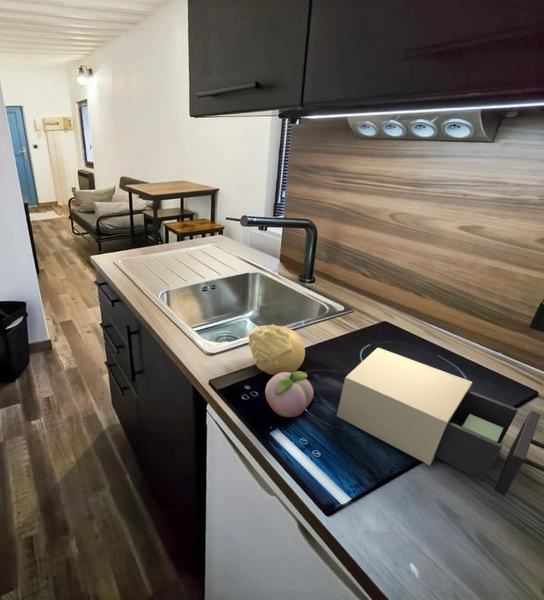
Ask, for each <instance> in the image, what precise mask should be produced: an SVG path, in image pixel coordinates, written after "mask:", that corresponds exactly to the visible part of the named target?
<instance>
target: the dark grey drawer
mask: <svg viewBox="0 0 544 600" xmlns="http://www.w3.org/2000/svg"><path fill="white" fill-rule="evenodd" d="M518 412H519V408H516V407H514V406H511V405H509V404H506V403H504V402H501V401H498V400H496V399H493V398H491V397H487V396H485V395H483V394H479V393H477V392H474V391H473V390H472V391H471V390H468V392H467V393H466V395H465V396H464V398H463V400H462V401H461V403H460V404H459V406H458V408H457V409H456V411H455V412H454V414H453V416H452V417H451V419H450V421H449V422H448V424H447V426H446V429H445V431H444V433H443V436H442V438H441V441H440V443H439V446H438V448H437V450H436V453H435V455H434V456H435V458H437V459H440V460H442V461H443V462H446V463H447V464H449V465H452V466H453V467H455V468H457V469H459V470H461V471H462V472H465V473H467V474H469V475H471V476H473V477H474V478H477V479H479V480H481V481H483V482H486V479H487V478H488V475H489V474H490V472H491V470H492V468H493V466H494V464H495V462H496V460H497V458H498V456H499V454H500V452H501V450H502V449H503V447H504V445H503V444H502V442H503V440H504V438H505V436H506V434H507V432H508V430H509V429H510V427H511V425H512V423H513V420H514V419H515V417H516V415H517V413H518ZM469 414H471V415H473V416H476V417H478V418H481V419H483V420H485V421H488V422H490V423H493V424H495V425H497V426H500V427H502V428H503V431H502V433H501V435H500V437H499V439H498V442H495V441H493V440H490V439H488V438H486V437H483V436H481V435H479V434H477V433H474V432H472V431H470V430H468V429H465V428H463V427H462V426H463V424H464V423H465V421H466V419H467V417H468V416H469ZM540 418H541V413H539V412H537V411H534V410H530V411H529V413H528V414H527V416H526V418H525V420H524V422H523V424H522V425H521V427H520V429H519V431H518V433H517V434H516V437H515V438H514V440H513V442H512V444H511V447H510V449H509V452H508V454H507V456H506V459H505V462H504V464H503V467H502V469H501V472H500V474H499V476H498V479H497V481H496V484H495V486H494V489H493V492H495V493H496V494H498V495H500V496H502V497H505V496H506V494H507V492H508V491H509V489H510V487H511V485H512V483H514V480H515V478H516V476H517V475H518V473H519V471H520V470H521V467H522V466H523V464H525V465H527V466H530V467H532V468H534V469H536V470H538V471H541V472H542V473H544V465H542V464H540V463H538V462H535V461H533V460H531V459H529V458H527V455H528V452H529V449H530V446H531V445H533V446H536V447H537V448H540V449H543V450H544V442H541V441H538V440H536V439H534V435H535V432H536V430H537V426H538V423H539V420H540Z"/></svg>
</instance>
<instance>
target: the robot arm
mask: <svg viewBox="0 0 544 600" xmlns="http://www.w3.org/2000/svg"><path fill="white" fill-rule="evenodd" d="M529 328H530V329H531V330H534V331H538V332H542V333H544V298H543V299H542V301H540V303H539V305H538V307H537V310H536V311H535V314H534V316H533V317H532V320H531V322H530V324H529Z"/></svg>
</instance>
